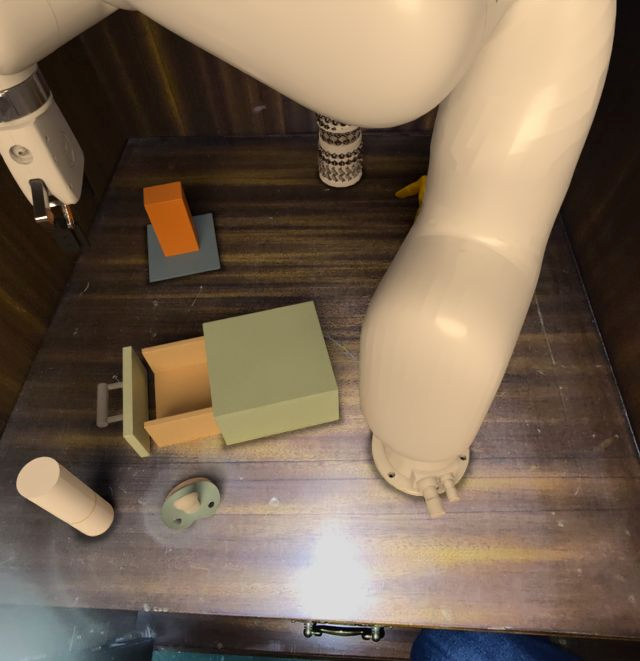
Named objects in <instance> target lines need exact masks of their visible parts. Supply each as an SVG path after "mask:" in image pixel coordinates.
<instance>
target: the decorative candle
mask: <svg viewBox="0 0 640 661" xmlns="http://www.w3.org/2000/svg"><path fill="white" fill-rule="evenodd" d="M314 115H315V122H316V124H317V125H318V127H319V132H318V138H319V139H318V140H317V152H318V153H317V160H318V161H317V164H318V172H319V178H320V180H321V181H322V182H323V183H324V184H325V185H328V186H330V187H334V188H346V187H349V186H352V185H355V184H356V183H357V182H360V179H361V178H362V176H363V171H362V169H363V167H364V166H363V165H362V163H363V161H364V159H363V158H362V157H363V154H364V151H363V147H364V142H363V141H364V140H363V138H362V137H363V136H362V135H363V134H362V127H357V126H352V125H347V124H344V123H341V122H338V121H335V120H333V119H331V118H328V117H326V116H323V115H321V114H318V113H316V112H314Z"/></svg>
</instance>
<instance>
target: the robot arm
mask: <svg viewBox="0 0 640 661" xmlns="http://www.w3.org/2000/svg"><path fill="white" fill-rule="evenodd" d="M120 9H121V10H126V11H132V12H133V11H134V12H135V11H138V12H140V13H141V14H142V15H144V16H146V17H148V18H149V19H150V20H151V21H154V22H155V23H157V24H159V25H160V26H161V27H163V28H165V29H167V30H168V31H170V32H171V33H173V34H174V35H177V36H179V37H180V38H182V39H184V40H186V41H187V42H189V43H191V44H192V45H194V46H196V47H198V48H199V49H202V50H203V51H204V52H207V53H209V55H210V54H211V55H212V56H214V57H216V58H217V59H219V60H221V61H223V62H225V63H226V64H228V65H230V66H232V67H233V68H235V69H237V70H239V71H240V72H242V73H244V74H246V75H248V76H249V77H251V78H253V79H255V80H256V81H258V82H260V83H262V84H263V85H265V86H267V87H269V88H270V89H272V90H274V91H276V92H278V93H279V94H281V95H283V96H285V97H286V98H288V99H290V100H291V101H293V102H295V103H297V104H299V105H300V106H303V107H304V108H305V109H307V110H310V111H312V112H314V113H315V112H316V113H318V114H321V115H323V116H326V117H328V118H331V119H333V120H335V121H338V122H341V123H344V124H347V125H352V126H357V127H361V129H362V128H364V129H388V128H389V129H390V128H394V127H398V126H402V125H406V124H408V123H411V122H413V121H416V120H417V119H419V118H421V117H423V116H424V115H426V114H428V113H429V112H431V111H432V110H433V109H436V107H437V106H438V107H437V111H436V116H435V120H434V123H433V130H432V135H431V138H430V139H431V140H430V146H429V163H428V169H427V174H426V176H427V180H426V186H425V191H424V196H423V201H422V204H421V208H420V212H419V214H418V217H417V219H416V221H415V223H414V222H413V224H412V226H411V228H410V230H409V232H408V233H407V235H406V236H405V238H404V240H403V241H402V243H401V245H400V247H399V249H398V251H397V252H396V253H395V256H394V257H393V259H392V261H391V263H390V264H389V265H388V268H387V270H386V271H385V273H384V275H383V276H382V278H381V280H380V281H379V284H378V285H377V287H376V289H375V291H374V293H373V295H372V297H371V299H370V301H369V304H368V306H367V309H366V311H365V315H364V318H363V321H362V325H361V330H360V337H359V374H358V376H359V378H358V379H359V382H358V397H359V406H360V409H361V413H362V416H363V419H364V421H365V423H366V425H367V426H368V428H369V430H370V431H371V432H372V436H371V437H372V438H371V454H372V455H371V456H372V459H373V462H374V464H375V467H376V469H377V471H378V472H379V474H380V475H381V476H382V478H383V479H384V480H385V481H386V482H387V484H389V485H391V486H392V487H394V488H395V489H396V490H398V491H400V492H403V493H405V494H408V495H412V496H415V497H416V496H417V497H423V498H424V501H425V506H426V509H427V512H428V516H429V517H430V518H431V519H434V518H439V517H441V516H444V515H445V514H446V513H447V512H446V509H445V507H444V503H443V501H442V497H440V495H441V494H443V493H445V494H446V497H447V500H448V502H449V503H455V502H457V501H459V500H461V497H460V495H459V492H458V489H457V487H456V485H457V484H458V483H459V482H460V481H461V479H462V478H463V476H464V475H465V472H466V470H467V468H468V466H469V462H470V451H471V450H470V446H472V444H473V442H474V441H475V439H476V436H477V435H478V432H479V431H480V428H481V426H482V425H483V423H484V420H485V418H486V416H487V414H488V412H489V410H490V407H491V406H492V403H493V402H494V399H495V397H496V395H497V393H498V390H499V388H500V386H501V384H502V381H503V379H504V376H505V374H506V371H507V369H508V367H509V364H510V362H511V358H512V356H513V354H514V350H515V347H516V345H517V343H518V340H519V336H520V334H521V331H522V329H523V327H524V326H523V325H524V323H525V321H526V317H527V313H528V311H529V308H530V306H531V303H532V300H533V297H534V294H535V291H536V288H537V285H538V282H539V278H540V275H541V269H542V264H543V260H544V255H545V251H546V249H547V244H548V241H549V239H550V235H551V233H552V229H553V227H554V224H555V222H556V219H557V217H558V214H559V212H560V210H561V207H562V205H563V202H564V200H565V198H566V196H567V192H568V190H569V188H570V185H571V182H572V178H573V176H574V173H575V170H576V167H577V164H578V162H579V159H580V156H581V154H582V151H583V149H584V146H585V143H586V141H587V138H588V135H589V132H590V130H591V127H592V124H593V122H594V119H595V117H596V113H597V109H598V106H599V103H600V100H601V97H602V94H603V90H604V86H605V83H606V78H607V74H608V71H609V65H610V61H611V56H612V52H613V43H614V37H615V29H616V19H617V0H0V155H1V157H2V158H3V161H4V163H5V165H6V166H7V169H8V170H9V172H10V173H11V175H12V177H13V178H14V180H15V182H16V184H17V186H18V188H19V189H20V190H21V191H22V193H23V195H24V196H25V198H26V199H27V200H28V201H29V203H30V204H31V205H32V206H33V216H34V220H35V223H37V224H38V225H39V226H41V227H42V228H43V230H44V231H45V232H47V233H50V234H51V236H52V237H53V239H54V240H55V242H56V243H57V245H58V247H59V248H60V250H61V251H62V252H63V253H64V254H72V253H77V252H84V251H89V250H91V249H92V248H91V247H92V246H91V244H92V243H91V242H90V240H89V239H88V237H87V235H86V233H85V231H84V229H83V228H82V226H81V224H80V223H79V221H75V220H74V218H73V213H72V209H71V206H70V205H76V204H77V203H78V202H79V200H83V199H89V198H94V197H95V196H96V191H95V189H94V187H93V185H92V183H91V181H90V180H89V177H88V175H87V172H85V169H84V168H85V155H84V151H83V149H82V147H81V146H80V144H79V142H78V140H77V138H76V136H75V135H74V133H73V131H72V129H71V127H70V125H69V124H68V122H67V120H66V118H65V116H64V114H63V113H62V111H61V110H60V107H59V106H58V104H57V103H56V101H55V99H54V95H53V93H52V91H51V89H50V86H49V84H48V82H47V80H46V78H45V76H44V75H43V72H42V70H41V67H40V66H39V64H38V62H41V61H42V60H43V59H45V58H46V57H48V56H49V55H51V54H53V53H54V52H55V51H56V50H58V49H59V48H60V47H62V46H64V45H65V44H67V43H68V42H70V41H71V40H73V39H74V38H76V37H77V36H79V35H80V34H82V33H84V32H85V31H87V30H89V29H90V28H92V27H94V26H95V25H97V24H98V23H99V22H101V21H103V20H104V19H106V18H108V17H109V16H110V15H112V14H114V13H115V12H116V11H118V10H120ZM51 196H53V197H55V198H56V199H57V200H52V201H50V197H51ZM59 207H60V208H61V211H62V214H63V217H59V216H58V217H56V216H55V215H54V214H53V212H52V209H53V208H59ZM390 476H392V477H390Z"/></svg>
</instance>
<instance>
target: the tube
mask: <svg viewBox="0 0 640 661" xmlns="http://www.w3.org/2000/svg"><path fill="white" fill-rule="evenodd" d="M15 482H16V486H15V487H16V490H17V492H18V493H19V494H20V495H21V496H22V497H24V498H25V499H27V500H28V501H30V502H32V503H34V504H35V505H37V506H38V507H40V508H42V509H43V510H45V511H46V512H48V513H50V514H51V515H52V516H55V518H57V519H59V520H61V521H63V522H64V523H66V524H68V525H70V526H71V527H73V528H74V529H76V530H77V531H79V532H80V533H82V534H84V535H86V536H89V537H97V536H99V535H102V534H104V533H105V532H106V531H107V530H108V529H109V528H110V527H111V525H112V524H113V521H114V518H115V511H114V508H113V506H112V504H111V503H109V502H108V501H107V500H105V498H103V497H101V495H99V494H98V493H97V492H96V491H94V490H93V489H92V488H90V486H88V485H87V484H86V483H85V482H83V481H82V480H80V479H79V478H78V477H76V476H75V475H74V474H73V473H72V472H71V471H69V470H68V469H67V468H65V467H64V466H63V465H62V464H61V463H59V462H58V461H57V460H56V459H54V458H52V457H49V456H41V457H36V458H34V459H32V460H30V461H29V462H28V463H26V464H25V465H24V466H23V467H22V468H21V470H20V471H19V473H18V474H17V478H16V481H15Z"/></svg>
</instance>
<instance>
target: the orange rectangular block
mask: <svg viewBox="0 0 640 661" xmlns="http://www.w3.org/2000/svg"><path fill="white" fill-rule="evenodd" d="M142 188H143V189H142V190H143V207H144V209H145V211H146V214H147V216H148V218H149V221H150V223H151V224H152V226H153V228H154V231H155V233H156V236H157V238H158V240H159V243H160V245H161V248H162V250H163V252H164V255H165V257H168V256H173V255H178V254H183V253H188V252H194V251H199V242H198V234H197V231H196V228H195V225H194V221H193V218H192V217H193V216H192V212H191V210H190V206H189V204H188V201H187V198H186V197H187V196H186V194H185V191H184V188H183V186H182V182H181V181H174V182H170V183H165V184H163V183H162V184H158V185H151V186H147V187H142Z"/></svg>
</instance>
